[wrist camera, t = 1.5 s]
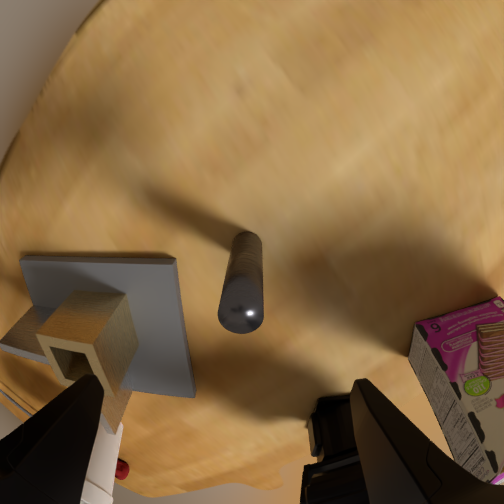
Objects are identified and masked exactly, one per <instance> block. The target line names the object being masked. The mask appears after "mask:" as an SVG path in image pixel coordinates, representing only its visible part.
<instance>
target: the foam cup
mask: <svg viewBox="0 0 504 504" xmlns="http://www.w3.org/2000/svg"><path fill="white" fill-rule="evenodd" d="M122 431H123V425H122V423H121V422H120V425H119V427H118V430H117V432H116V435H112V434H108V433H107V432H106V430H105V429H104V427H103V426H102V424H101V422H100V421H99V427H98V431H97V435H96V438H95V442H94V446H93V449H92V453H91V457H90V461H89V465H88V469H87V473H86V478H85V482H84V487H83V491H82V496H81V501H80V504H112V503H113V498H112V491H113V484H114V477H115V471H116V464H117V458H118V453H119V447H120V441H121V436H122Z"/></svg>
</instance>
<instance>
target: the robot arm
mask: <svg viewBox="0 0 504 504" xmlns="http://www.w3.org/2000/svg"><path fill="white" fill-rule="evenodd" d="M103 399H104V388H103V386H102V385H101V383H100V381H99V379H98V377H97V376H96V375H94V374H88V373H87V374H84V375H83V376H82V377H81V378H79V379H78V380H77V381H76V382H74V383H73V384H72V385H70V386H69V387H68V388H67V389H65V390H64V391H63V392H62V393H60V394H59V395H58V396H57V397H55V398H54V399H53V400H52V401H50V402H49V403H48V404H47V405H45V406H44V407H43V408H42V409H40V410H39V411H38V412H36V413H35V414H34V415H33V416H31V417H30V418H29V419H28V420H26V421H25V422H24V424H21V425H20V426H19V427H18V428H16V429H15V430H14V431H12V432H11V433H10V434H9V435H7V436H6V437H4V438H3V439H1V440H0V504H80V501H81V496H82V491H83V487H84V482H85V478H86V473H87V469H88V465H89V461H90V457H91V453H92V449H93V446H94V442H95V438H96V435H97V431H98V427H99V421H100V416H101V410H102V404H103ZM308 434H309V442H310V450H311V456H313V457H317V463H314V464H307V465H304V471H303V475H302V486H301V496H300V504H504V485H496V484H490V483H487V482H484V481H482V480H480V479H478V478H477V477H475V476H474V475H473V474H471V473H470V472H468V471H467V470H466V469H464V468H463V467H462V466H460V465H459V464H457V463H456V462H455V461H454V460H452V459H451V458H450V457H448V456H447V455H446V454H445V453H444V452H443V451H442V450H441V449H439V448H438V447H437V446H436V445H435V444H434V443H433V442H432V441H430V439H429V438H428V437H427V436H426V435H425V434H424V433H423V432H422V431H420V430H419V429H418V428H417V427H416V426H415V425H414V424H413V423H412V422H411V421H410V420H409V419H408V418H407V417H406V416H405V415H404V414H403V413H402V412H401V411H400V410H399V409H398V408H397V407H396V406H395V405H394V404H393V403H392V402H391V401H390V400H389V399H388V398H387V397H386V396H385V395H384V394H383V393H382V392H380V391H379V390H378V389H377V388H376V387H375V386H374V385H373V384H372V383H371V382H370V381H369V380H368V379H366V378H363V379H357V380H355V381H354V384H353V387H352V390H351V393H350V395H349V396H338V397H325V398H320V399H318V400H317V403H316V407H315V410H314V413H312V414H311V416H310V420H309V423H308Z"/></svg>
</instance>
